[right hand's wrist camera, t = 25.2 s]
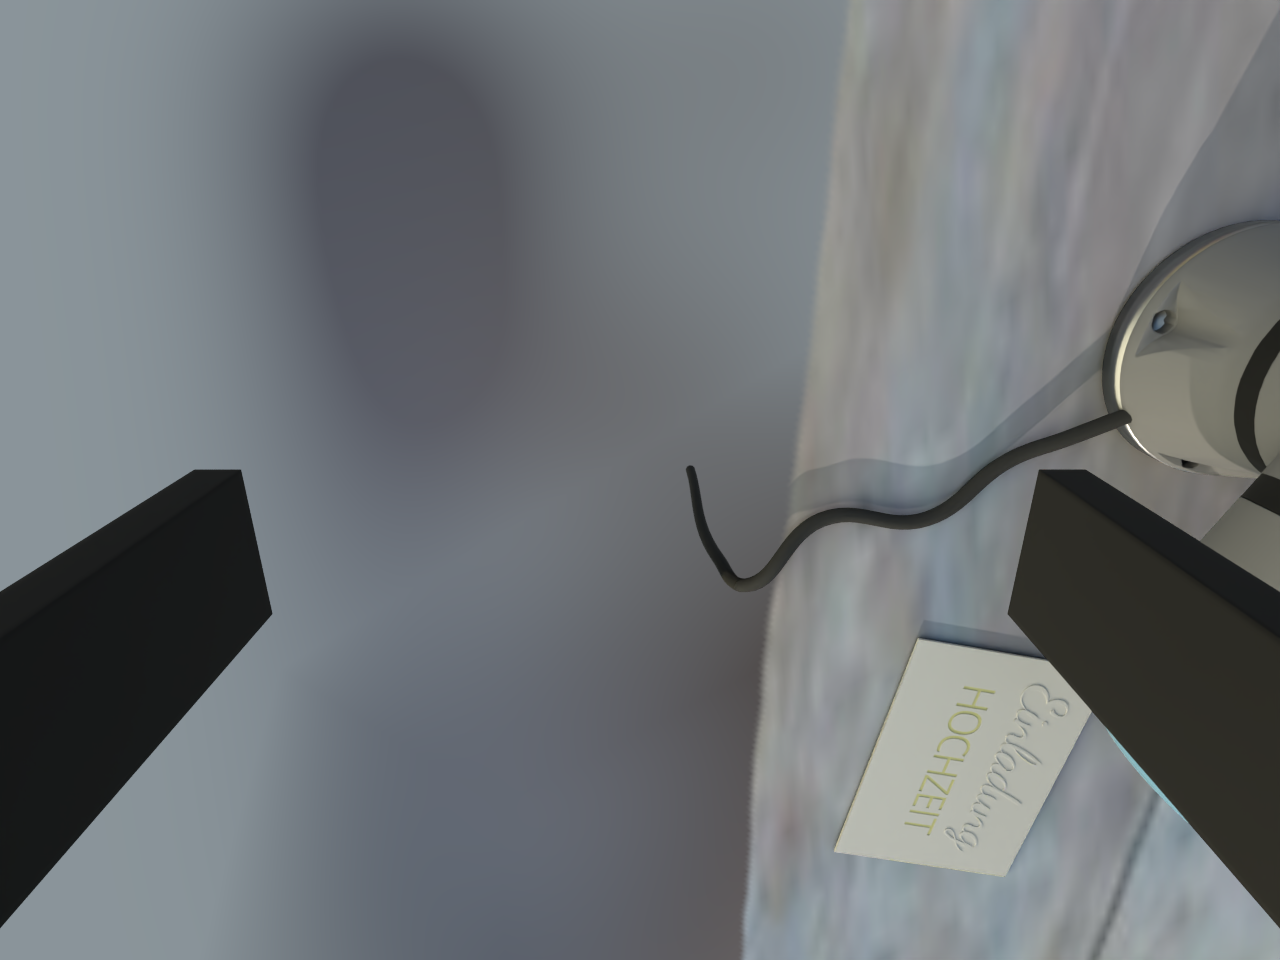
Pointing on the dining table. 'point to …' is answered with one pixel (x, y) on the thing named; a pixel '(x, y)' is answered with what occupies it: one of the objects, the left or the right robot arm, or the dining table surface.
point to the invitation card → (963, 759)
